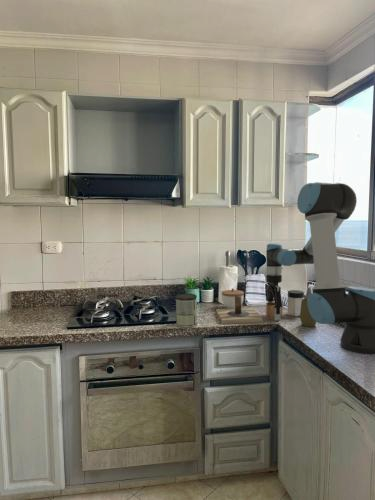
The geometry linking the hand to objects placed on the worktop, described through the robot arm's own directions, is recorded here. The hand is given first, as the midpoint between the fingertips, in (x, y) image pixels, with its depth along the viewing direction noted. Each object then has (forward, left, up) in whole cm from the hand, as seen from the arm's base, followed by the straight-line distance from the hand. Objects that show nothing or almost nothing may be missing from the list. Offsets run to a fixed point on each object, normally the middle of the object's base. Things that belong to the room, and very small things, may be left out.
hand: (273, 317), depth 184 cm
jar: (+5, -13, 0) cm, 14 cm away
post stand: (+2, +18, 0) cm, 18 cm away
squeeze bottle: (-15, -12, 0) cm, 19 cm away
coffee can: (-7, +45, 0) cm, 46 cm away
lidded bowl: (+23, +17, 0) cm, 29 cm away
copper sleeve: (0, 0, 0) cm, 0 cm away
